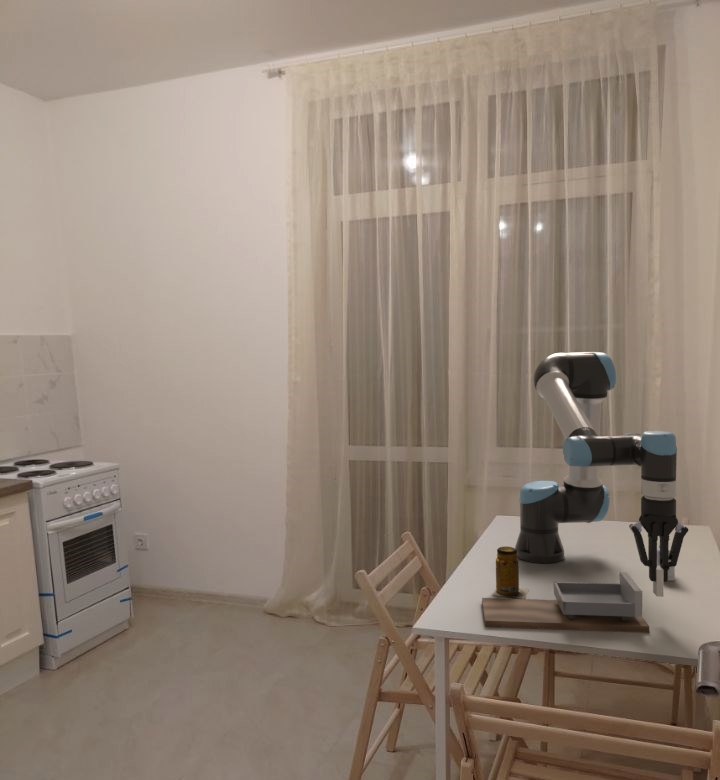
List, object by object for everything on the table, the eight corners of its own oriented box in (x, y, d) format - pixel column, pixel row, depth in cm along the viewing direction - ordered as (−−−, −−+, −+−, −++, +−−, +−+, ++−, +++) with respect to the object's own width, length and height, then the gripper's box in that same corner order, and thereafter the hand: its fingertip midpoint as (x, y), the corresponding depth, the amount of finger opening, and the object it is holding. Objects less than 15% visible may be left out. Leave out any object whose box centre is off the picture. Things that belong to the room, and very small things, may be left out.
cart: (554, 599, 160) (553, 570, 159) (626, 601, 157) (626, 571, 157) (563, 621, 147) (563, 589, 146) (642, 623, 144) (642, 591, 144)
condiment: (497, 586, 175) (497, 544, 174) (528, 590, 171) (528, 547, 170) (492, 595, 168) (491, 551, 167) (524, 600, 164) (523, 555, 164)
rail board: (482, 603, 163) (482, 597, 163) (631, 608, 158) (631, 602, 157) (485, 626, 149) (485, 620, 149) (649, 632, 144) (649, 626, 144)
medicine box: (675, 581, 175) (675, 551, 174) (657, 580, 176) (657, 550, 175) (667, 571, 183) (667, 542, 182) (650, 571, 183) (650, 542, 183)
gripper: (634, 500, 146) (634, 599, 147) (693, 500, 144) (693, 601, 145) (625, 493, 153) (625, 587, 154) (681, 493, 151) (681, 589, 153)
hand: (658, 594), depth 150 cm, fingers closed
